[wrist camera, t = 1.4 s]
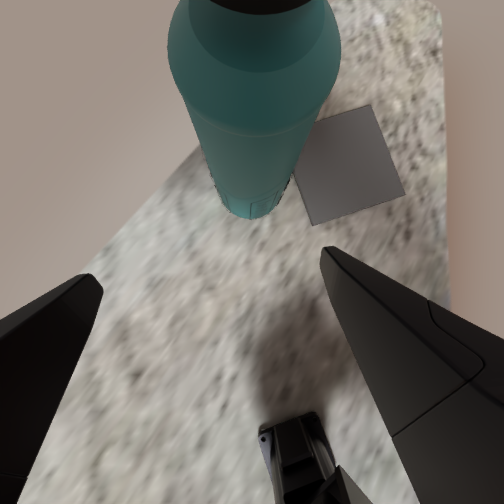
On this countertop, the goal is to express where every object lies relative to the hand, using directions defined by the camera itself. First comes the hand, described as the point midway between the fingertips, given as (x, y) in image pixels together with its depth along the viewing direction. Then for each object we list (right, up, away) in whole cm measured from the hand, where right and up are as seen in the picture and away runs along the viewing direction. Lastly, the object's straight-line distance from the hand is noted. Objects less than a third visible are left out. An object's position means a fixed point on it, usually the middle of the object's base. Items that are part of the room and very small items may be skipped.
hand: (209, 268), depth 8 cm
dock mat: (+12, +10, +15) cm, 22 cm away
